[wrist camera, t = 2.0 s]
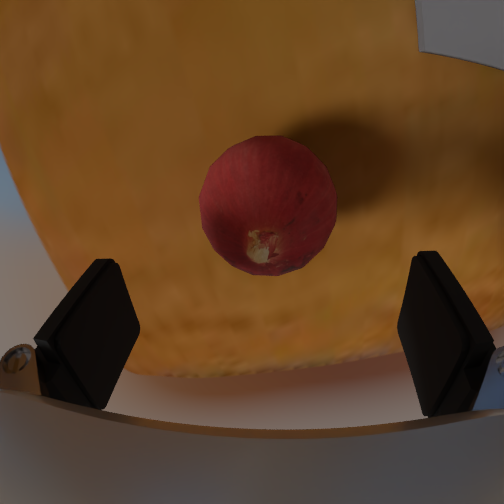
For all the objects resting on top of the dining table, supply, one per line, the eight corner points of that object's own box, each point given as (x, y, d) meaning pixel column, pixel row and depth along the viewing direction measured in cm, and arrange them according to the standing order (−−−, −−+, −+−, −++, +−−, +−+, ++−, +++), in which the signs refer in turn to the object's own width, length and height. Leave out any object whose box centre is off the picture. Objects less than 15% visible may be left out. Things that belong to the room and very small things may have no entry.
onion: (340, 205, 17) (372, 300, 11) (245, 239, 19) (224, 341, 12) (301, 106, 15) (319, 140, 8) (198, 149, 16) (139, 215, 10)
